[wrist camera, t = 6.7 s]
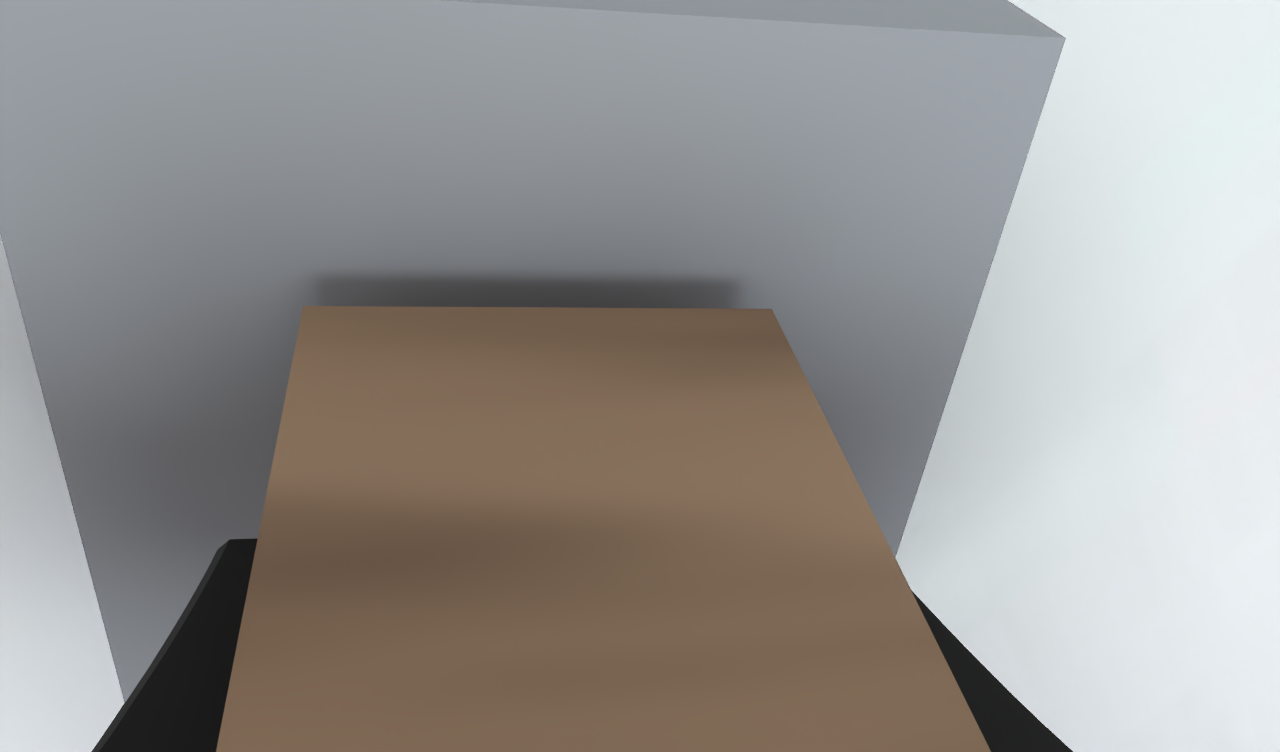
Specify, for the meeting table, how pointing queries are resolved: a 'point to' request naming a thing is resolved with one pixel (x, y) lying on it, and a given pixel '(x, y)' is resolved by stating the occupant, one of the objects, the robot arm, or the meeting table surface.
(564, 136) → the grey block
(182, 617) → the robot arm
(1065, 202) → the meeting table surface
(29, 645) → the meeting table surface
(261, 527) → the walnut block
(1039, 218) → the meeting table surface
